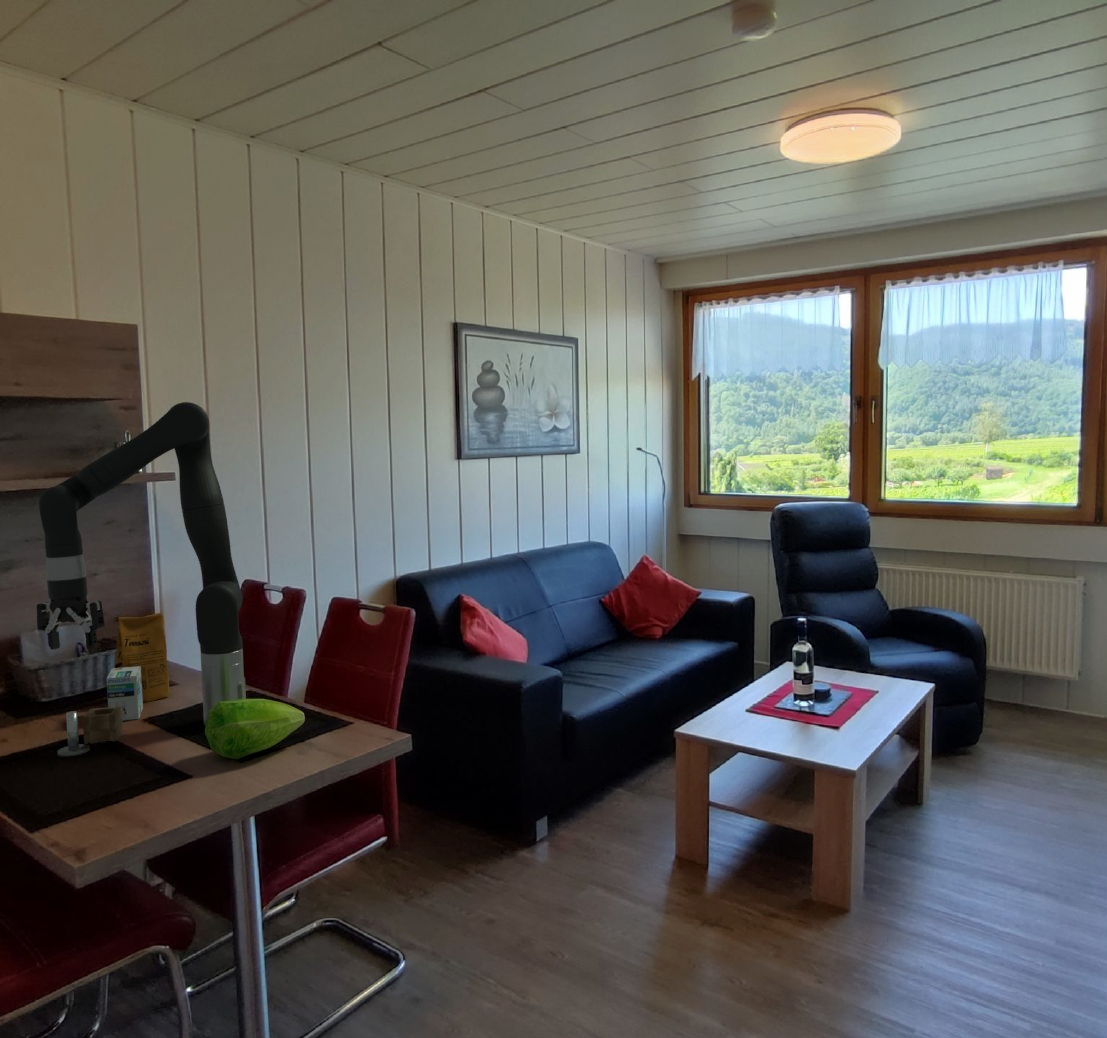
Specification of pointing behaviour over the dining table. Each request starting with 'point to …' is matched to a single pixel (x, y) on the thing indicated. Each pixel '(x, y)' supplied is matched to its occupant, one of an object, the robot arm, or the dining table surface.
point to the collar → (102, 724)
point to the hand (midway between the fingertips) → (73, 648)
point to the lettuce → (249, 725)
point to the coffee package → (145, 653)
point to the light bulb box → (125, 691)
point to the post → (73, 738)
